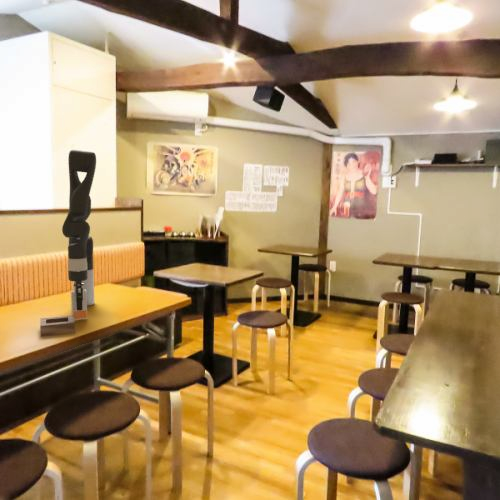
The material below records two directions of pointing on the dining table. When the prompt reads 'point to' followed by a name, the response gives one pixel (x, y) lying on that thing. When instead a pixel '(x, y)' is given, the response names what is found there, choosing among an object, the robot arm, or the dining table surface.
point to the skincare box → (76, 313)
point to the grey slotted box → (57, 325)
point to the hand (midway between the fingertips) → (79, 308)
